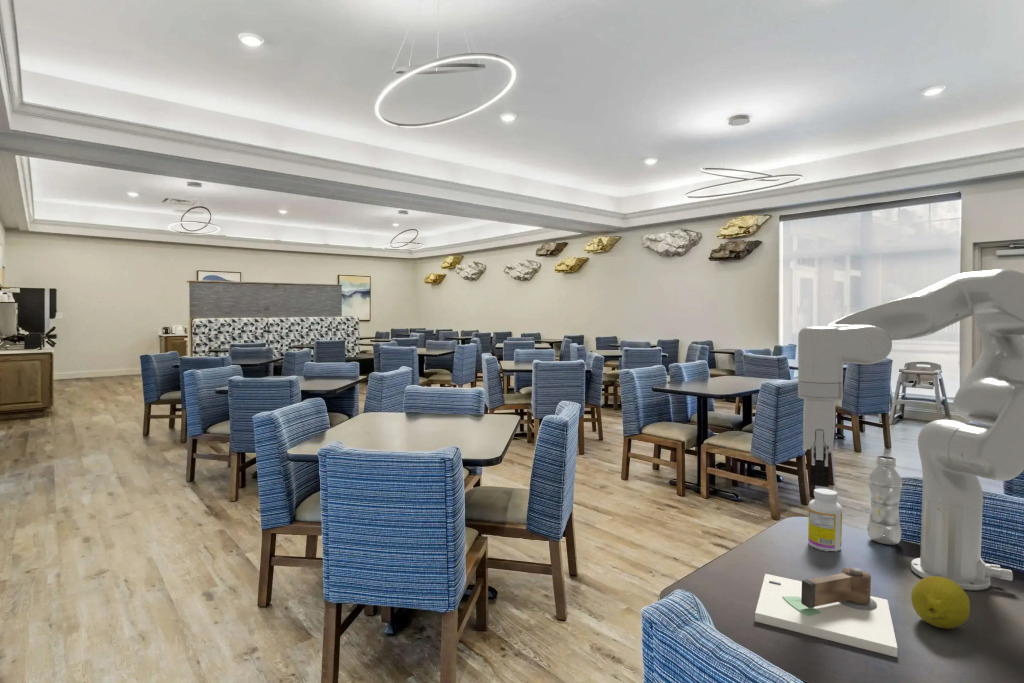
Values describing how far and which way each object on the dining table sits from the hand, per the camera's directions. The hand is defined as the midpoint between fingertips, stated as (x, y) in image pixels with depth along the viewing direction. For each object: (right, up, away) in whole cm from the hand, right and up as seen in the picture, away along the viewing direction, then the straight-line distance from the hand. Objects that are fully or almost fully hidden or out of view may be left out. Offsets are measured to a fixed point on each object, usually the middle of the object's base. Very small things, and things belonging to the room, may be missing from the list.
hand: (819, 484), depth 107 cm
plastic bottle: (+27, -19, +22) cm, 40 cm away
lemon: (+13, -21, -13) cm, 28 cm away
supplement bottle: (+12, -19, +19) cm, 30 cm away
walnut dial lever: (-3, -18, -10) cm, 21 cm away
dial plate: (-5, -20, -10) cm, 23 cm away
